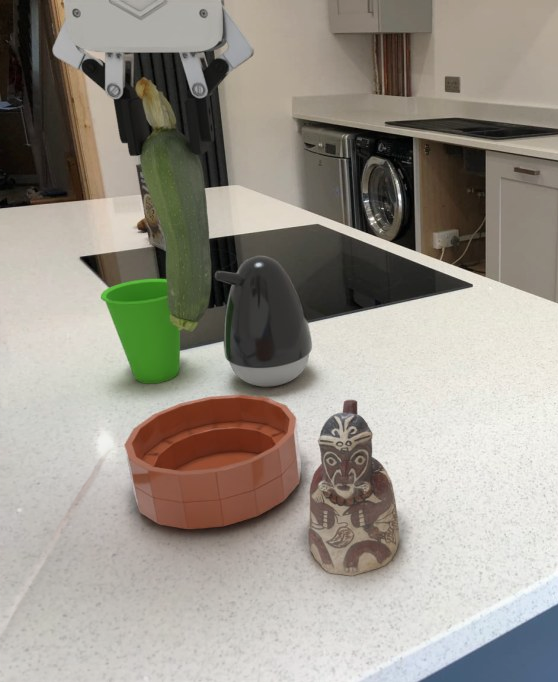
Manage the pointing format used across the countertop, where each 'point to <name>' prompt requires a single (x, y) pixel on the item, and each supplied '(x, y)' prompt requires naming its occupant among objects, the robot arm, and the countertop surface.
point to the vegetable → (177, 209)
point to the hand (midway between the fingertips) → (170, 150)
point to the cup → (145, 328)
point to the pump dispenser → (264, 324)
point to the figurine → (351, 499)
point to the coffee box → (150, 214)
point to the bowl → (214, 461)
